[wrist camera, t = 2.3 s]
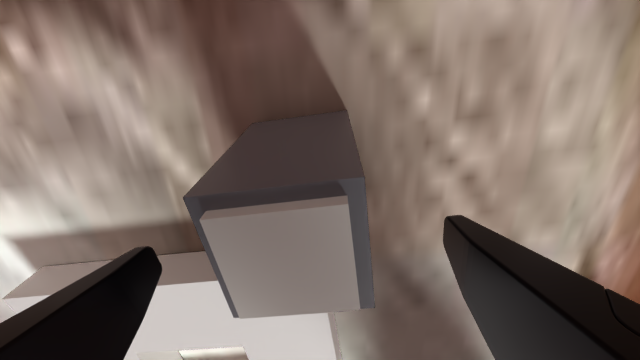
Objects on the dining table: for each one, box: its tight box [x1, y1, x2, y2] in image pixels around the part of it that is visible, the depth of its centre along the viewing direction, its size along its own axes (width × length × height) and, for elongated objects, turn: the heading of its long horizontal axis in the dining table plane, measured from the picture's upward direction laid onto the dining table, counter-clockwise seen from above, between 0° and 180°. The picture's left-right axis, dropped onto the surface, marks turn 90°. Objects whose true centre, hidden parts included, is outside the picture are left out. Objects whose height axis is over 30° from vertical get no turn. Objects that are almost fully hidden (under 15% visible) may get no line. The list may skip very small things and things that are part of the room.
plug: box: [183, 110, 375, 319], centre depth 11 cm, size 4×4×7 cm
